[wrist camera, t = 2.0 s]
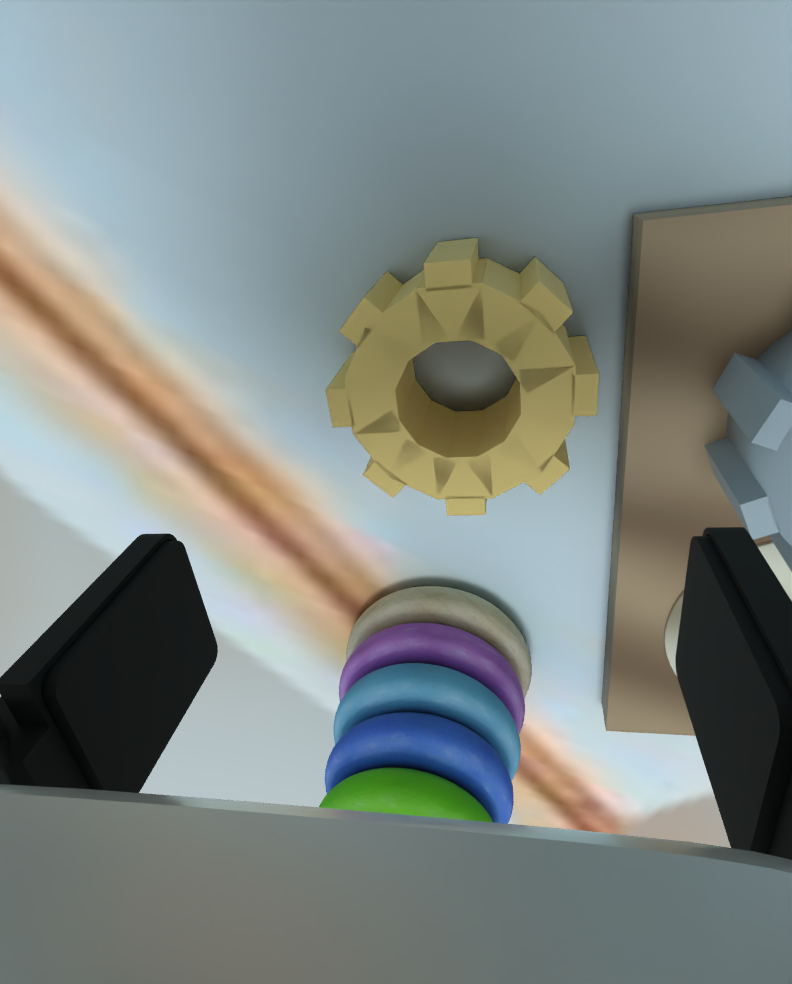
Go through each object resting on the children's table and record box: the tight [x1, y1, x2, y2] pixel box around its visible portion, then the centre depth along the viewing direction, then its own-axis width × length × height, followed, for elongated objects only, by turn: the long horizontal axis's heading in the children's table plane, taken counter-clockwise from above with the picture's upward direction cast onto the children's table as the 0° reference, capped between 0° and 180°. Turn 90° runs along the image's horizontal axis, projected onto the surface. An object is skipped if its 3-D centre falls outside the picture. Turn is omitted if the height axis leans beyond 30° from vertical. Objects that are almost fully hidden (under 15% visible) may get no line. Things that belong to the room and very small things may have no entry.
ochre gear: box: [326, 238, 599, 516], centre depth 19 cm, size 8×8×4 cm
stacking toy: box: [319, 586, 532, 824], centre depth 19 cm, size 8×8×19 cm
